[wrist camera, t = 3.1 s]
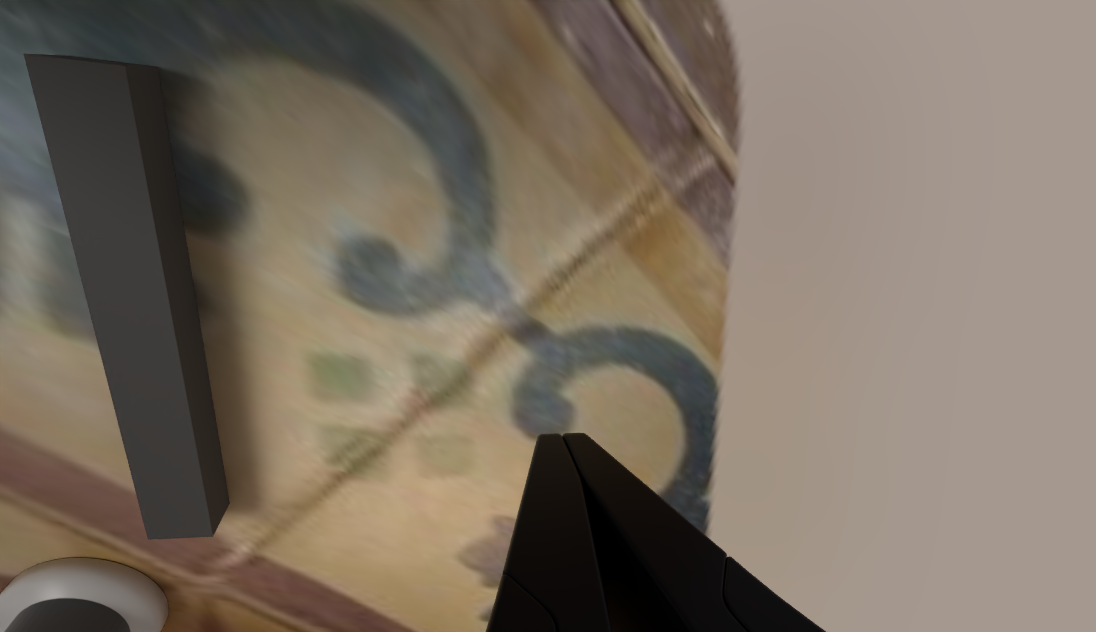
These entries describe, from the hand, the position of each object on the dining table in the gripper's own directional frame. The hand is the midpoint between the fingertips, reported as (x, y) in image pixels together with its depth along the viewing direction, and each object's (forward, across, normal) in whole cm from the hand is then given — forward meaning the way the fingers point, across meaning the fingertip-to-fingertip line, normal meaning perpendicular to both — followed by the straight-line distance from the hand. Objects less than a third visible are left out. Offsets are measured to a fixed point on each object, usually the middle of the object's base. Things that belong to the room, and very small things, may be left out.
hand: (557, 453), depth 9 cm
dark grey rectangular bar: (+6, +9, 0) cm, 11 cm away
